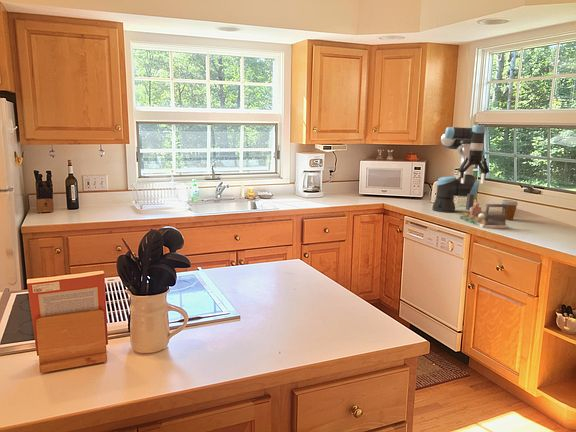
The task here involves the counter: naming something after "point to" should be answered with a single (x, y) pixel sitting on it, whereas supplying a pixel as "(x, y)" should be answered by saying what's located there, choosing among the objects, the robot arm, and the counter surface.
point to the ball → (481, 216)
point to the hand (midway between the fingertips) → (472, 183)
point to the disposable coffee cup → (509, 208)
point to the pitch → (488, 218)
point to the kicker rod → (469, 205)
